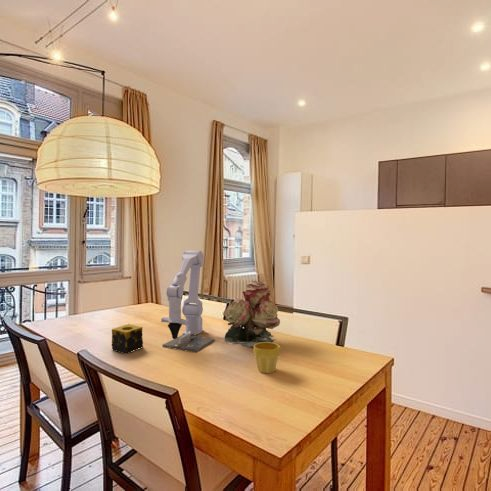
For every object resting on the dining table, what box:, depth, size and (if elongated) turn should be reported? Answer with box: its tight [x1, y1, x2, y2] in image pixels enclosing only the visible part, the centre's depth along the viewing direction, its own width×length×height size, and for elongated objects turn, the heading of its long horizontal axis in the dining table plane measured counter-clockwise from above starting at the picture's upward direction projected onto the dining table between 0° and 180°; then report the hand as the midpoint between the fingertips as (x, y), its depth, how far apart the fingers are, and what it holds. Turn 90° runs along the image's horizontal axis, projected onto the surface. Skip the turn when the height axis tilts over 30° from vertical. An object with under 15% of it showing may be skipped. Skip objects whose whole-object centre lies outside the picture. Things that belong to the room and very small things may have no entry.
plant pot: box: [253, 342, 281, 374], centre depth 140 cm, size 10×10×10 cm
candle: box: [111, 323, 144, 354], centre depth 164 cm, size 10×10×10 cm
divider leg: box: [178, 331, 195, 345], centre depth 172 cm, size 14×3×3 cm, turn 163°
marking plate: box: [162, 334, 215, 353], centre depth 172 cm, size 18×18×2 cm
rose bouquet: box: [222, 280, 281, 348], centre depth 177 cm, size 26×29×30 cm
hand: (174, 338), depth 171 cm, fingers closed
